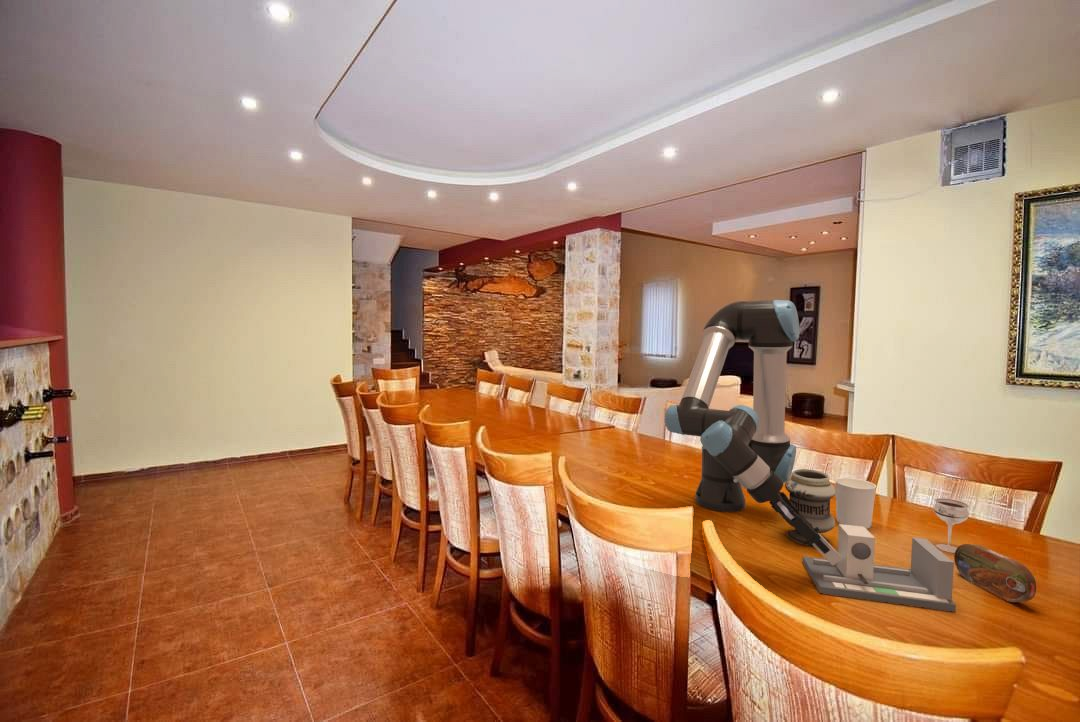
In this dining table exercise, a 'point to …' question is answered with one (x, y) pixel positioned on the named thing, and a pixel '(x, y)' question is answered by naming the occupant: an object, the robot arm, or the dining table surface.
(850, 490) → the candle holder
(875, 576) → the gauge bed
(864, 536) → the gauge carriage
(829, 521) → the apothecary jar
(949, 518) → the wineglass
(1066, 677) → the dining table surface
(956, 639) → the dining table surface
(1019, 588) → the tin
